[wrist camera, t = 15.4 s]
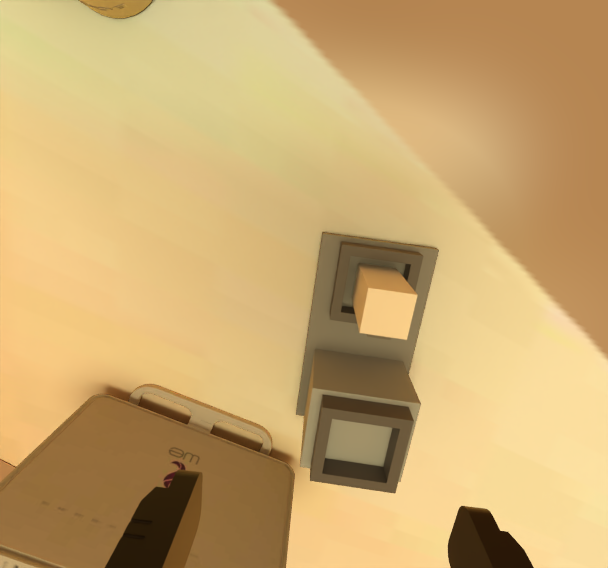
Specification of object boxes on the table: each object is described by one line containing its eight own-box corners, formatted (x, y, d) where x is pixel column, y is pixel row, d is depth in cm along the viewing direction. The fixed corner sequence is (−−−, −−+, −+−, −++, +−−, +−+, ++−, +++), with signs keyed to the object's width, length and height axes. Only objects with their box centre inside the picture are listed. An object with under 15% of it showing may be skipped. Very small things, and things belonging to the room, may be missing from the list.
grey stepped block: (322, 232, 38) (322, 253, 27) (436, 248, 38) (479, 275, 27) (296, 409, 44) (287, 481, 34) (393, 423, 44) (415, 500, 34)
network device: (303, 442, 46) (288, 633, 26) (278, 491, 48) (248, 699, 29) (111, 367, 44) (-53, 512, 25) (94, 422, 46) (-66, 593, 27)
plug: (358, 262, 38) (368, 287, 29) (396, 268, 38) (417, 295, 29) (350, 305, 39) (357, 341, 30) (387, 310, 39) (404, 348, 30)
